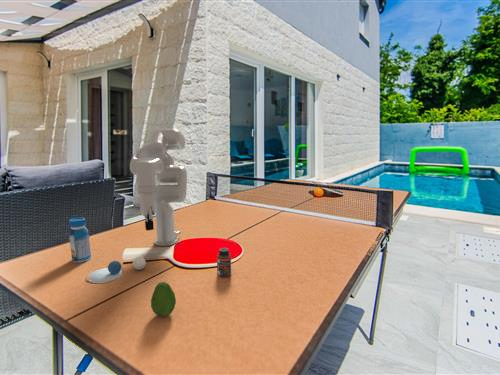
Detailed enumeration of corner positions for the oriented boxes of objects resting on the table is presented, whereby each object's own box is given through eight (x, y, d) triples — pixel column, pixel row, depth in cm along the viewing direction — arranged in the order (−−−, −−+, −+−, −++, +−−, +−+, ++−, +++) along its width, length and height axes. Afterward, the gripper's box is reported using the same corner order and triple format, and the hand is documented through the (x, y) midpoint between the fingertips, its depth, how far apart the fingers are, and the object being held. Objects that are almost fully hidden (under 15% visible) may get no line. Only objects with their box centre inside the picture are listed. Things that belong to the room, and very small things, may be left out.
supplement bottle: (218, 278, 133) (217, 253, 131) (216, 272, 138) (215, 247, 136) (232, 276, 134) (232, 251, 132) (229, 270, 140) (229, 246, 138)
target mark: (108, 265, 146) (108, 265, 146) (128, 272, 139) (128, 272, 139) (78, 278, 134) (78, 277, 134) (99, 286, 127) (99, 286, 127)
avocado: (167, 324, 103) (164, 289, 101) (147, 318, 106) (144, 285, 103) (181, 310, 110) (179, 278, 108) (162, 306, 113) (159, 274, 111)
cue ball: (135, 253, 143) (132, 264, 144) (132, 259, 138) (130, 270, 139) (148, 256, 144) (145, 267, 145) (145, 262, 139) (143, 273, 140)
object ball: (120, 260, 142) (106, 263, 140) (120, 258, 138) (106, 262, 135) (122, 272, 141) (109, 276, 139) (123, 270, 136) (109, 275, 134)
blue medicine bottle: (86, 263, 149) (81, 221, 145) (68, 263, 149) (62, 221, 145) (94, 255, 157) (90, 216, 153) (77, 255, 158) (73, 216, 154)
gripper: (134, 187, 144) (138, 226, 147) (140, 193, 131) (144, 236, 134) (151, 185, 147) (154, 223, 151) (159, 191, 134) (162, 233, 138)
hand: (149, 229), depth 142 cm, fingers closed
